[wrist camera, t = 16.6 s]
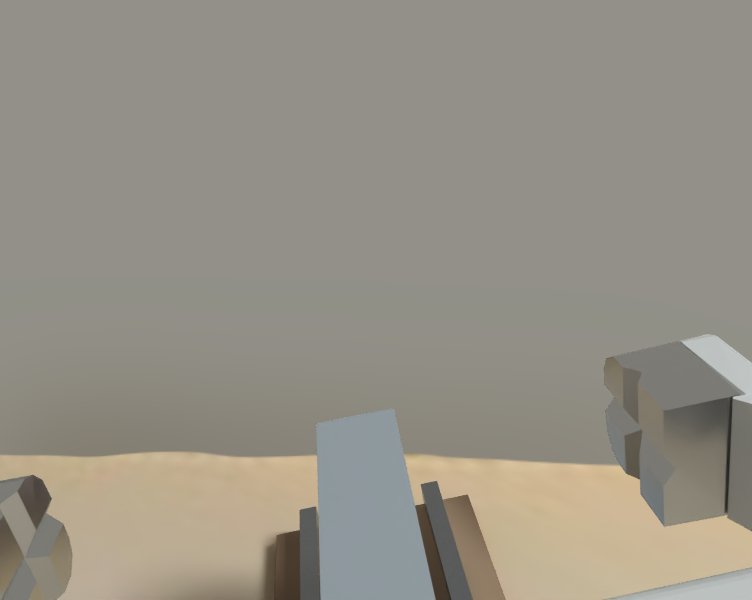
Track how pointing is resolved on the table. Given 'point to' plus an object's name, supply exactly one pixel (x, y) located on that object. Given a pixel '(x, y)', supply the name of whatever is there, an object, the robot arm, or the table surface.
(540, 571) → the table surface
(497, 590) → the track board
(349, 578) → the tall grey rectangular block
